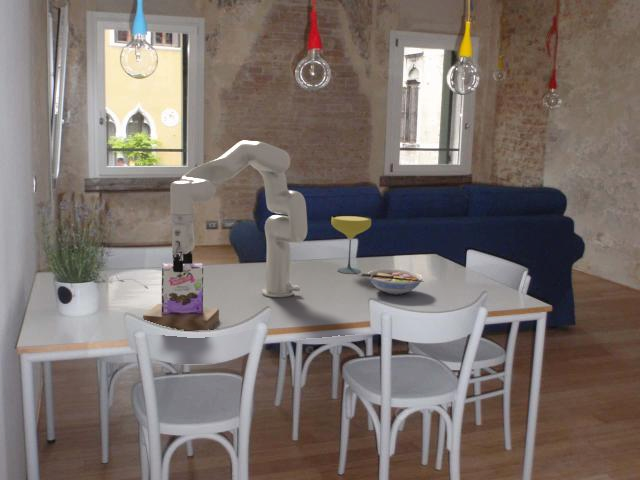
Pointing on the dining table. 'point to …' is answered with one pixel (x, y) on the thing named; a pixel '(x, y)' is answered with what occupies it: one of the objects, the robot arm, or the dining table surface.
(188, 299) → the candy box
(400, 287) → the ramen bowl
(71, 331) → the dining table surface
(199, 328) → the walnut base
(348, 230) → the cocktail glass
